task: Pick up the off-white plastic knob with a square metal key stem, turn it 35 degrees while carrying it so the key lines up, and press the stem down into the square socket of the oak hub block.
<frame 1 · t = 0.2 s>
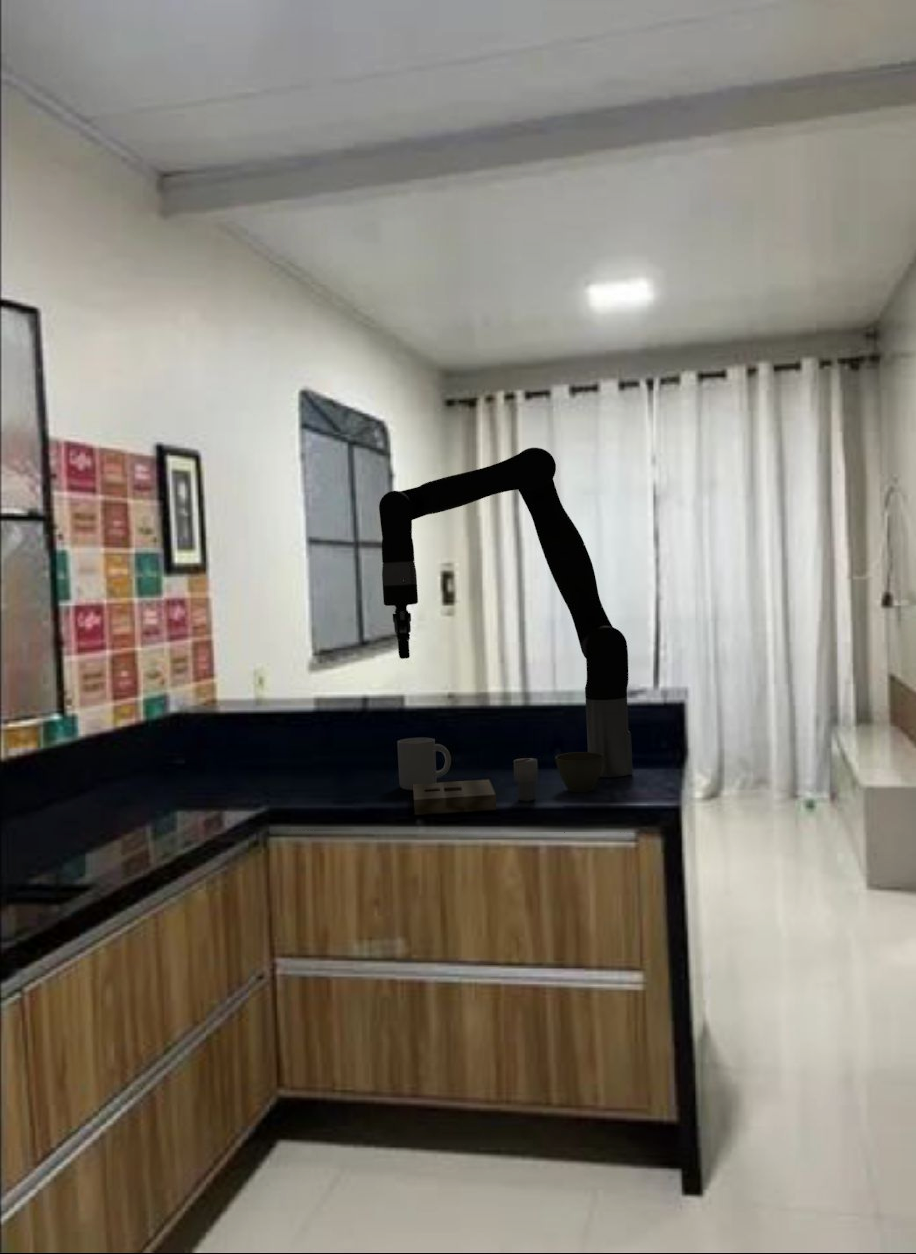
hand: (404, 657, 241), 29 cm above the countertop, fingers open, 8 cm apart
hub: (453, 803, 222), on the countertop
knob: (527, 799, 223), on the countertop
yellowish brown bowl: (580, 791, 229), on the countertop
mug: (426, 786, 243), on the countertop
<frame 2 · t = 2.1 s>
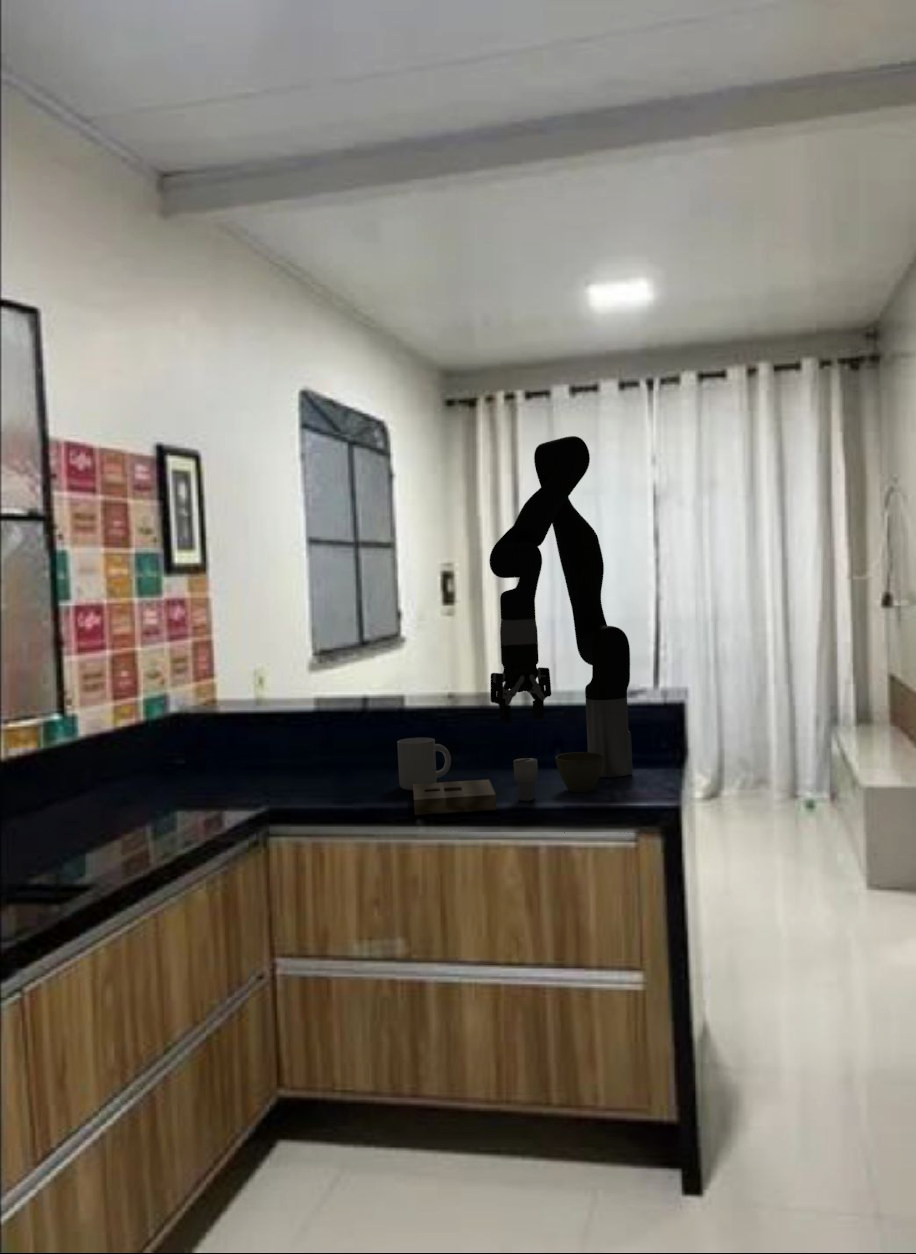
hand: (522, 721, 222), 16 cm above the countertop, fingers open, 8 cm apart
nothing on the countertop moved.
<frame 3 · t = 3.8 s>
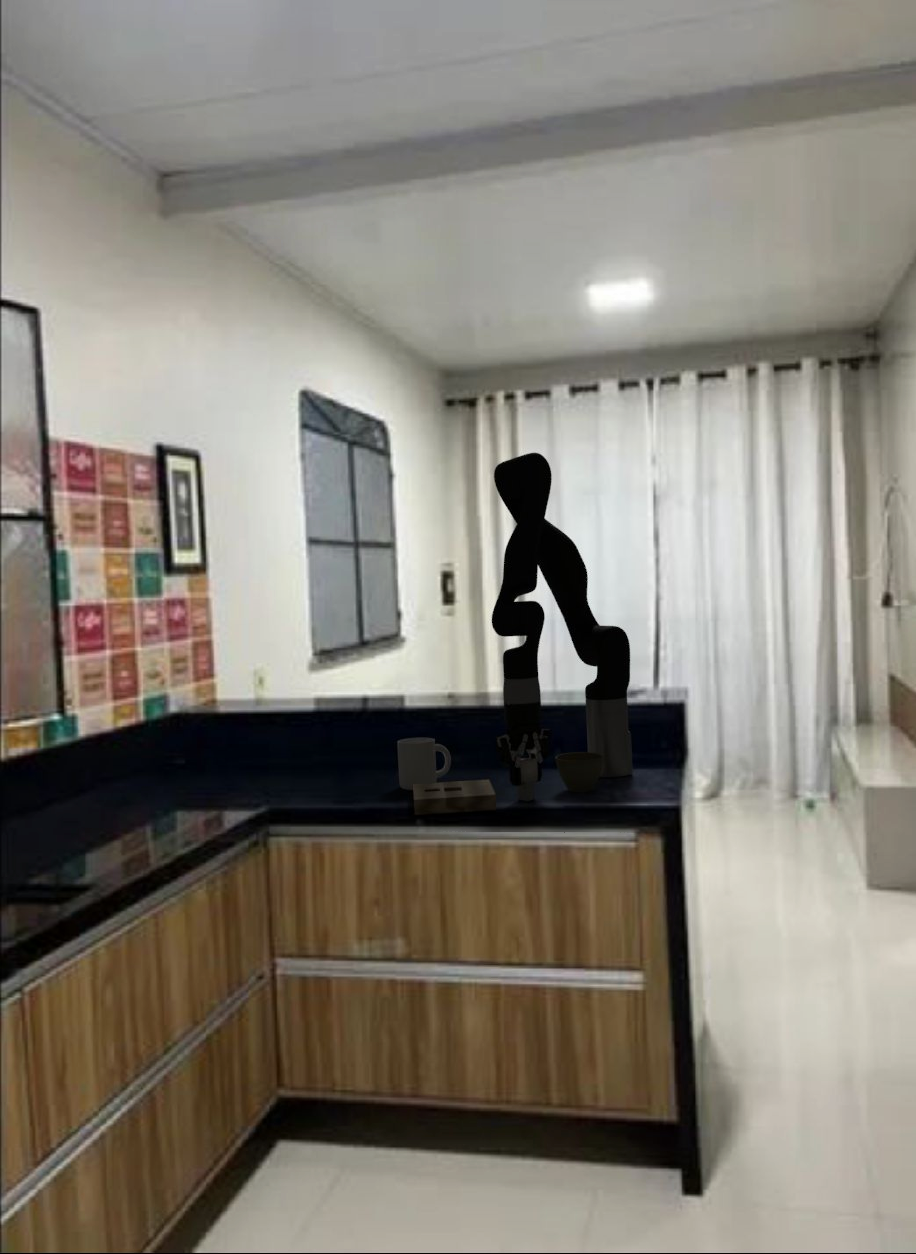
hand: (526, 782, 223), 3 cm above the countertop, fingers closed on knob, 4 cm apart
knob: (527, 799, 223), on the countertop, touching gripper
everything else where it was.
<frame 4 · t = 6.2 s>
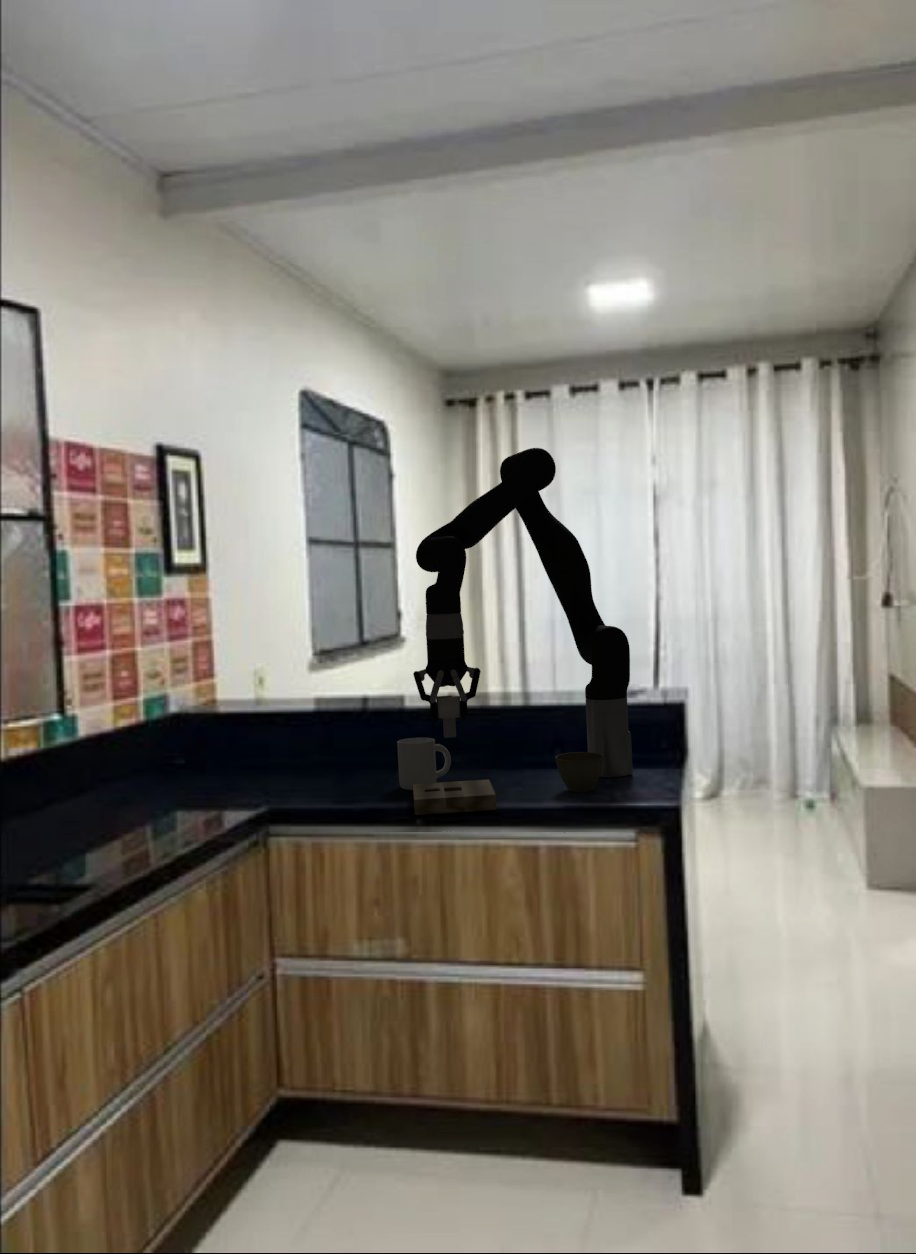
hand: (449, 719, 221), 17 cm above the countertop, fingers closed on knob, 4 cm apart
knob: (450, 736, 221), point 14 cm above the countertop, touching gripper
everything else where it was.
when the fingers open (4 cm above the countertop, at t = 8.6 s): knob stays where it is, resting in hub.
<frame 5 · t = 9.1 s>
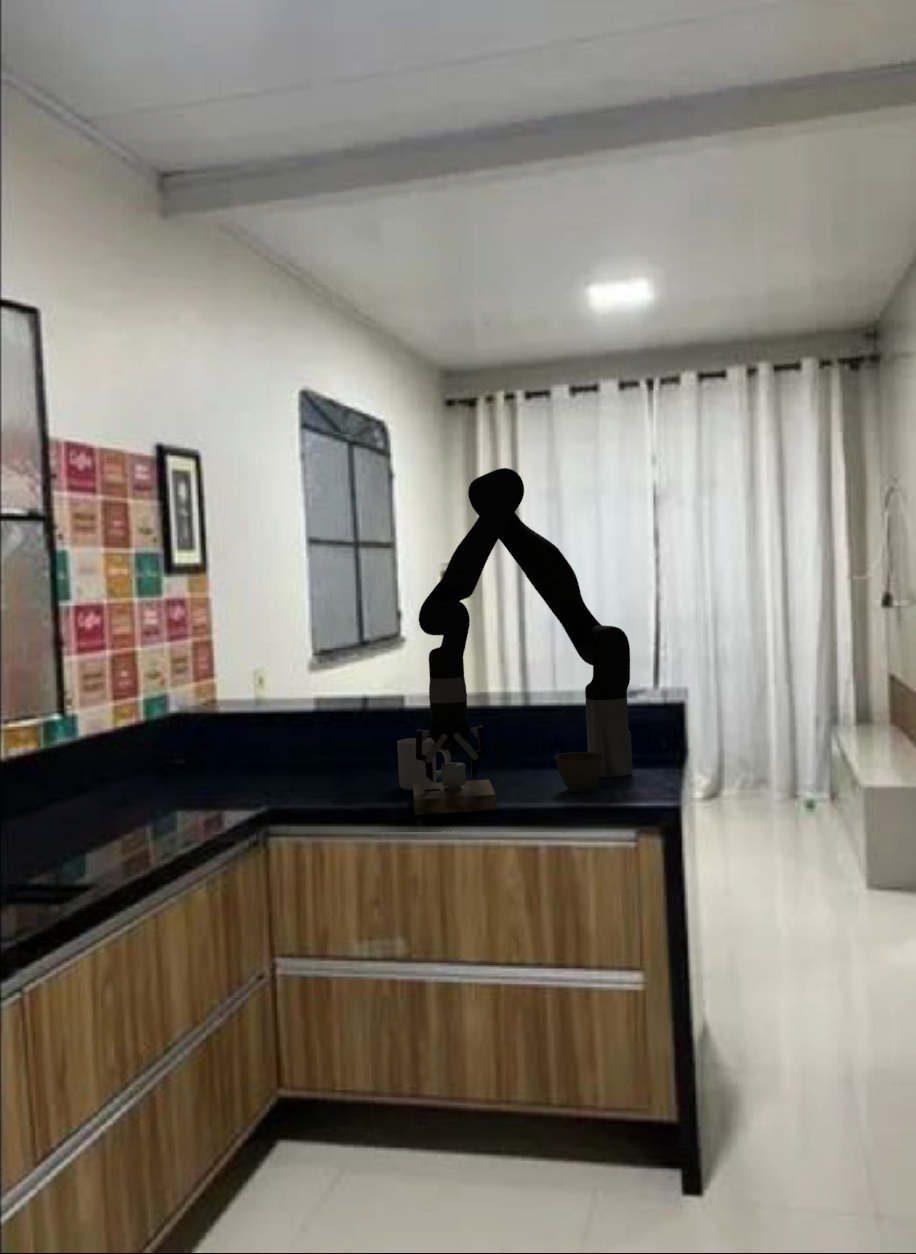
hand: (452, 779, 222), 5 cm above the countertop, fingers open, 8 cm apart
knob: (454, 803, 222), resting in hub
everything else where it was.
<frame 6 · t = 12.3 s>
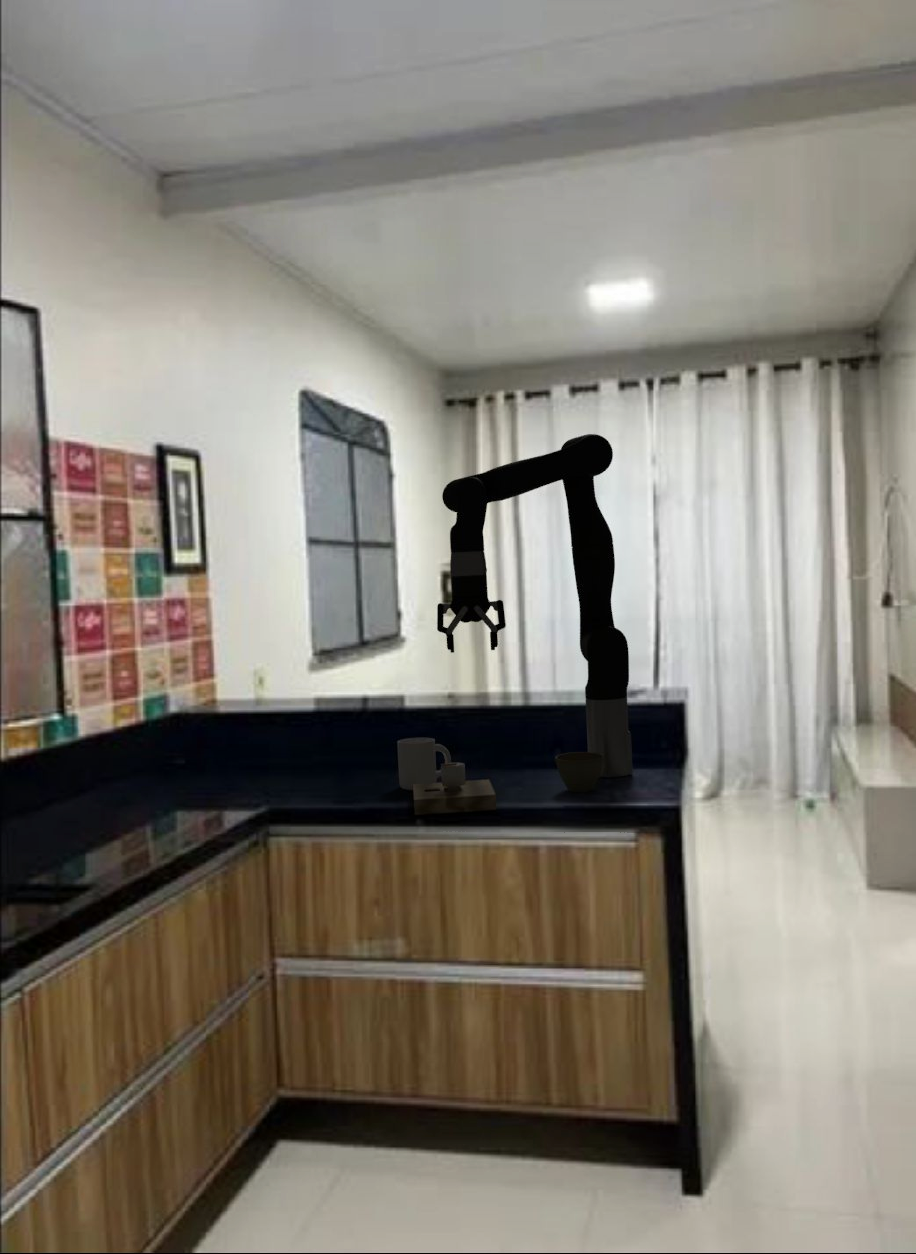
hand: (472, 651, 230), 30 cm above the countertop, fingers open, 8 cm apart
nothing on the countertop moved.
at the end: knob 0.2 cm off-centre on the hub, point 0.0 cm above the hub's base; knob tilted 0°; the gripper is holding nothing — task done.
